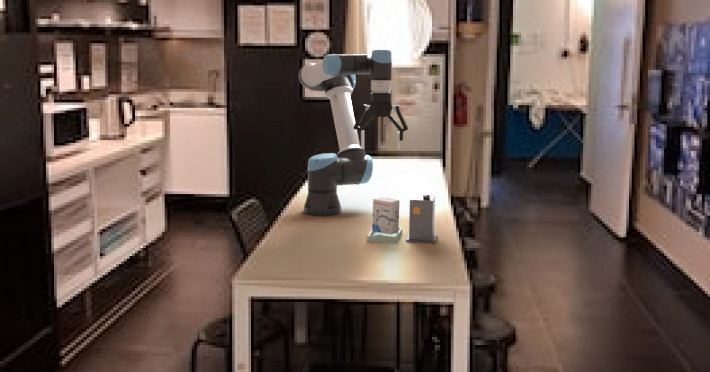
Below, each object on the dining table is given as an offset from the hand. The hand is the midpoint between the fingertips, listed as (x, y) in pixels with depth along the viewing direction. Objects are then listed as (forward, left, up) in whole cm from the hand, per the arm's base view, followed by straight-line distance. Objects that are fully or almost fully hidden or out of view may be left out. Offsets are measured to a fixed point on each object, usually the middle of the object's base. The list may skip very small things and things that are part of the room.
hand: (380, 149), depth 293 cm
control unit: (+18, -20, -29) cm, 39 cm away
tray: (+5, -20, -29) cm, 35 cm away
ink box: (+5, -20, -27) cm, 34 cm away
